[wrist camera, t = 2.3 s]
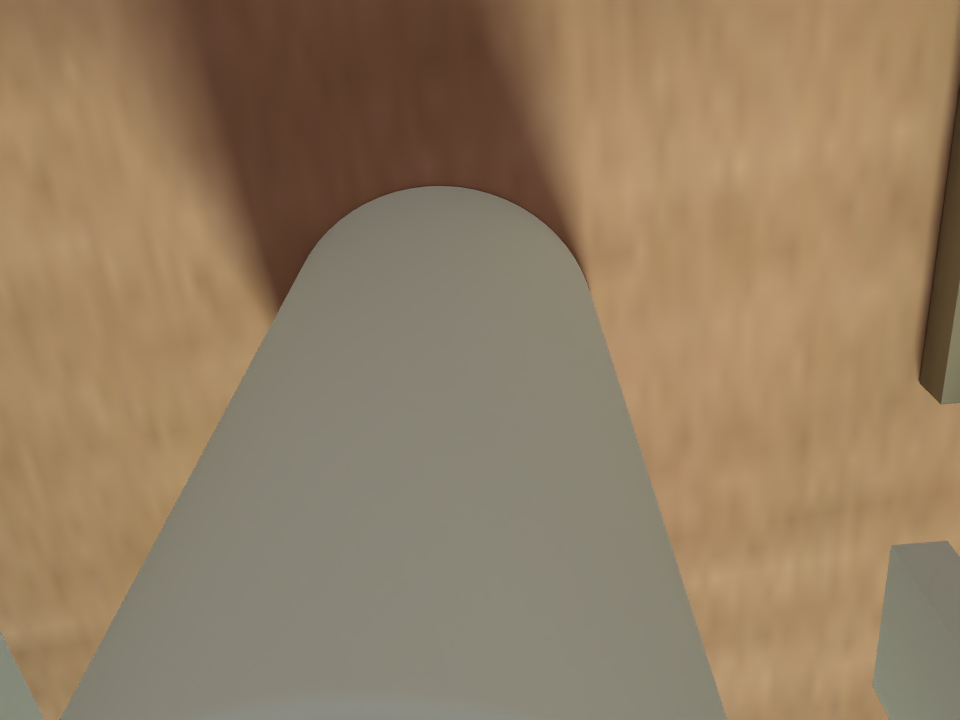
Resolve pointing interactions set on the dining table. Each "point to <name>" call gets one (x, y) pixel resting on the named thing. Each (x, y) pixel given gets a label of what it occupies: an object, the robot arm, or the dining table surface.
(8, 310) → the dining table surface
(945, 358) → the board
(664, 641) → the cup
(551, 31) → the dining table surface
